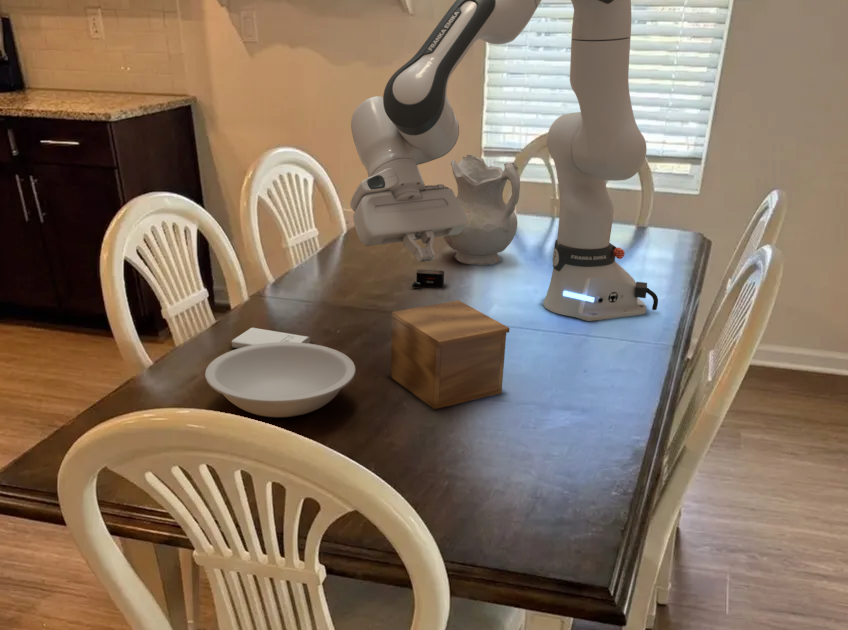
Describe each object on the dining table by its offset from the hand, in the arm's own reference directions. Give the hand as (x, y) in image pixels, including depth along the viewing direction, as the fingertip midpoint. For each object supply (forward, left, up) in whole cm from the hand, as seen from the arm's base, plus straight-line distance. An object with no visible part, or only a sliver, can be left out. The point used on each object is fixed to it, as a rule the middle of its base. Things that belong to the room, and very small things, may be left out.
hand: (426, 259), depth 145 cm
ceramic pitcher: (-28, -68, -21) cm, 77 cm away
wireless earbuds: (-10, -48, -21) cm, 53 cm away
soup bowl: (+26, +12, -21) cm, 35 cm away
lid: (-3, +8, -9) cm, 12 cm away
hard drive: (+27, -15, -21) cm, 37 cm away
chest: (-2, +7, -20) cm, 22 cm away
